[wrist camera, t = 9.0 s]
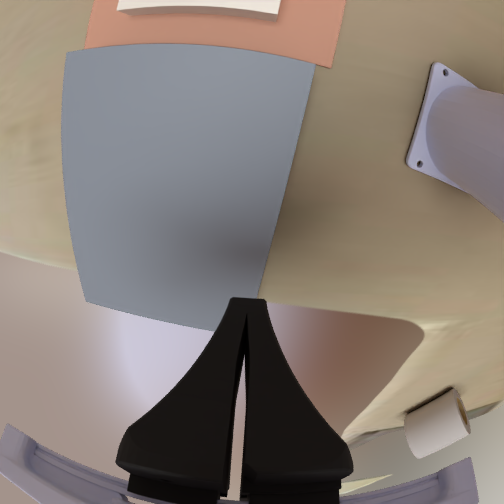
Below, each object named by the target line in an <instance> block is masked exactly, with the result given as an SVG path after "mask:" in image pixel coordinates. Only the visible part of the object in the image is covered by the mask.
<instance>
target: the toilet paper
mask: <svg viewBox="0 0 504 504" xmlns="http://www.w3.org/2000/svg"><path fill="white" fill-rule="evenodd" d="M404 428H405V434H406V438H407V442H408V445H409V447H410V449H411V451H412V453H413V454H414V455H415V456H416V457H417V458H422V457H425V456H427V455H429V454H431V453H434V452H436V451H438V450H440V449H442V448H444V447H446V446H448V445H450V444H452V443H454V442H456V441H458V440H460V439H461V438H463V437H465V436H467V435H469V434H470V424H469V420H468V416H467V413H466V410H465V407H464V405H463V402H462V400H461V398H460V396H459V394H458V392H457V391H456V390H455V389H454V388H453V389H452V390H450V391H448V392H447V393H445V394H443V395H442V396H440V397H438V398H437V399H435V400H433V401H431V402H430V403H428V404H426V405H424V406H422V407H420V408H419V409H417V410H415V411H413V412H411V413H409V414H407V415H406V416H405V420H404Z"/></svg>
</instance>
